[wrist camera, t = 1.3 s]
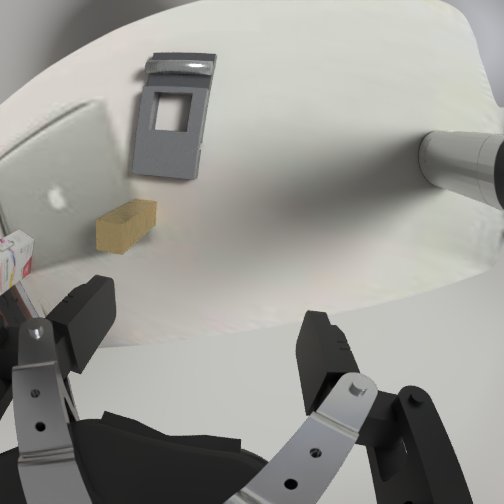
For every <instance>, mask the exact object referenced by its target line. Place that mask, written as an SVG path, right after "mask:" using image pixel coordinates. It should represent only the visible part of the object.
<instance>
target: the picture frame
mask: <svg viewBox="0 0 504 504" xmlns="http://www.w3.org/2000/svg"><path fill="white" fill-rule="evenodd" d="M0 314H1V315H2V316H3V317H4V320H5V323H6V326H10V327H19V328H20V326H21V325H22V324H23V323H24V322H25V321H27V320H29V319H31V318H37V317H39V315H38V314H37V312H36V310H35V308H34V307H33V305H32V303H31V301H30V299H29V298H28V296H27V294H26V292H25V290H24V288H23V287H22V284H21V282H20V281H18V282H17V283H16V284H14V285H13V286H12V287H11V288H9V289H8V290H7V291H6V292H4V293H3V294H2V295H1V296H0Z"/></svg>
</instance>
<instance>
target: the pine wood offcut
mask: <svg viewBox="0 0 504 504" xmlns="http://www.w3.org/2000/svg"><path fill="white" fill-rule="evenodd" d="M156 207H157V202H155V201H147V200H139V199H134V200H132V201H130V202H128V203H127V204H125V205H123V206H121V207H119V208H117V209H115V210H114V211H112V212H110V213H108V214H106V215H105V216H103V217H101V218H99V219H97V220H96V250H100V251H105V252H111V253H116V254H122V255H123V254H124V253H125V252H126V251H127V250H128V249H129V248H130V247H131V246H132V245H134V244H135V243H136V242H137V241H138V240H139V239H140V238H141V237H142V236H143V235H145V234H146V233H147V232H148V231H149V230H150V229H151V228H152V227H154V226H155V223H156Z"/></svg>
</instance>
